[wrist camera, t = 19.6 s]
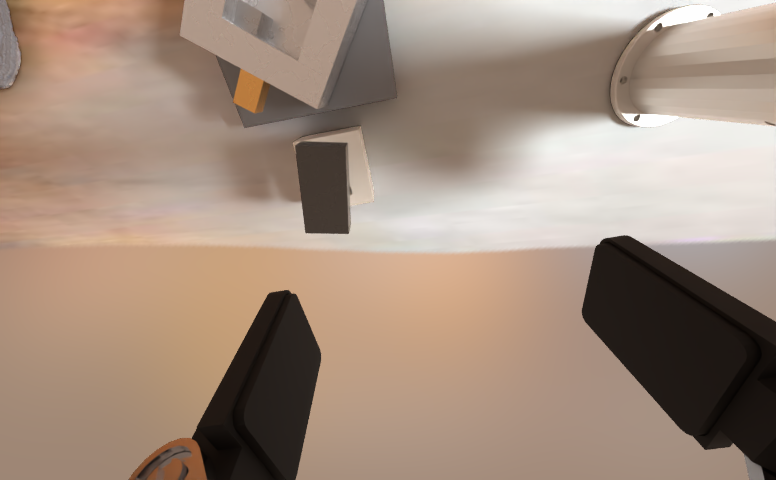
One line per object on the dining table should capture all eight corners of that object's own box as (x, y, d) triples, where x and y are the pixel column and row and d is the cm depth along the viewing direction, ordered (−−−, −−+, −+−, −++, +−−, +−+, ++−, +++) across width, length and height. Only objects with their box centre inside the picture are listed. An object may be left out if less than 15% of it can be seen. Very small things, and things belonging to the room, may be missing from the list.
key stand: (360, 125, 36) (358, 130, 32) (374, 190, 41) (373, 201, 37) (301, 136, 37) (292, 142, 33) (320, 200, 41) (314, 212, 37)
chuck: (246, -108, 23) (207, -166, 18) (374, -20, 26) (373, -46, 21) (210, 75, 30) (174, 73, 24) (317, 131, 32) (306, 139, 27)
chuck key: (354, 130, 36) (345, 146, 26) (356, 197, 40) (348, 233, 30) (318, 129, 35) (294, 145, 25) (323, 196, 40) (305, 233, 30)
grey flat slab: (364, -114, 26) (362, -145, 23) (395, 96, 35) (397, 97, 31) (185, -71, 27) (156, -95, 24) (257, 124, 36) (244, 127, 32)
